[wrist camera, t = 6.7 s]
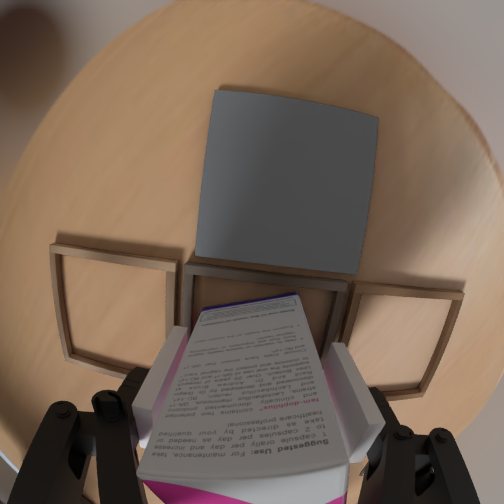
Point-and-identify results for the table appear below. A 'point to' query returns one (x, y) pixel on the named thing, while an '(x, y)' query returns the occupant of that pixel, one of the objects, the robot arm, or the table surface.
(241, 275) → the frame
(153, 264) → the frame
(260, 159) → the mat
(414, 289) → the frame
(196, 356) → the supplement box
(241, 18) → the table surface
